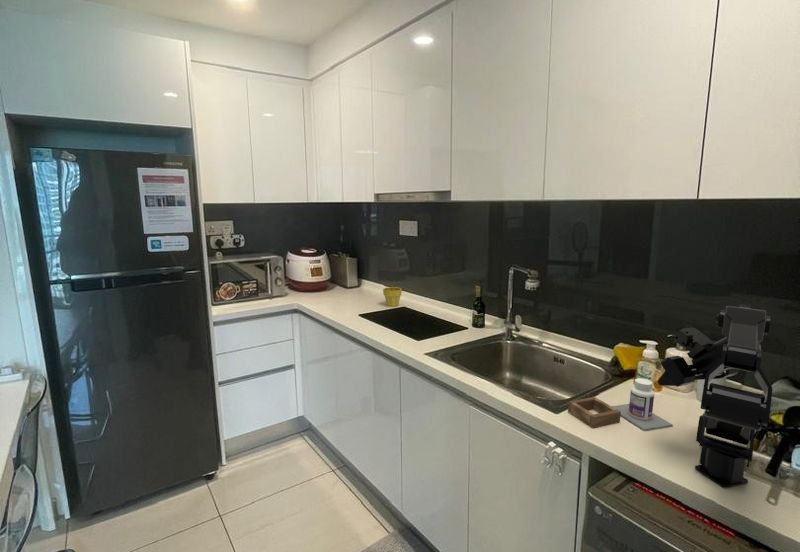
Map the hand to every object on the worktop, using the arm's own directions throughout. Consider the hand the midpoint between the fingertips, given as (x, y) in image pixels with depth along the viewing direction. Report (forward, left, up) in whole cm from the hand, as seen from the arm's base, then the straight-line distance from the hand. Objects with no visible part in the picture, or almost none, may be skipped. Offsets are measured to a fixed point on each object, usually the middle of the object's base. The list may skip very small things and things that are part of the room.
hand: (672, 380), depth 99 cm
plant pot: (+144, +37, -14) cm, 149 cm away
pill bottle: (+7, +1, -13) cm, 15 cm away
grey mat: (+8, +1, -14) cm, 16 cm away
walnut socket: (+11, +13, -14) cm, 21 cm away
